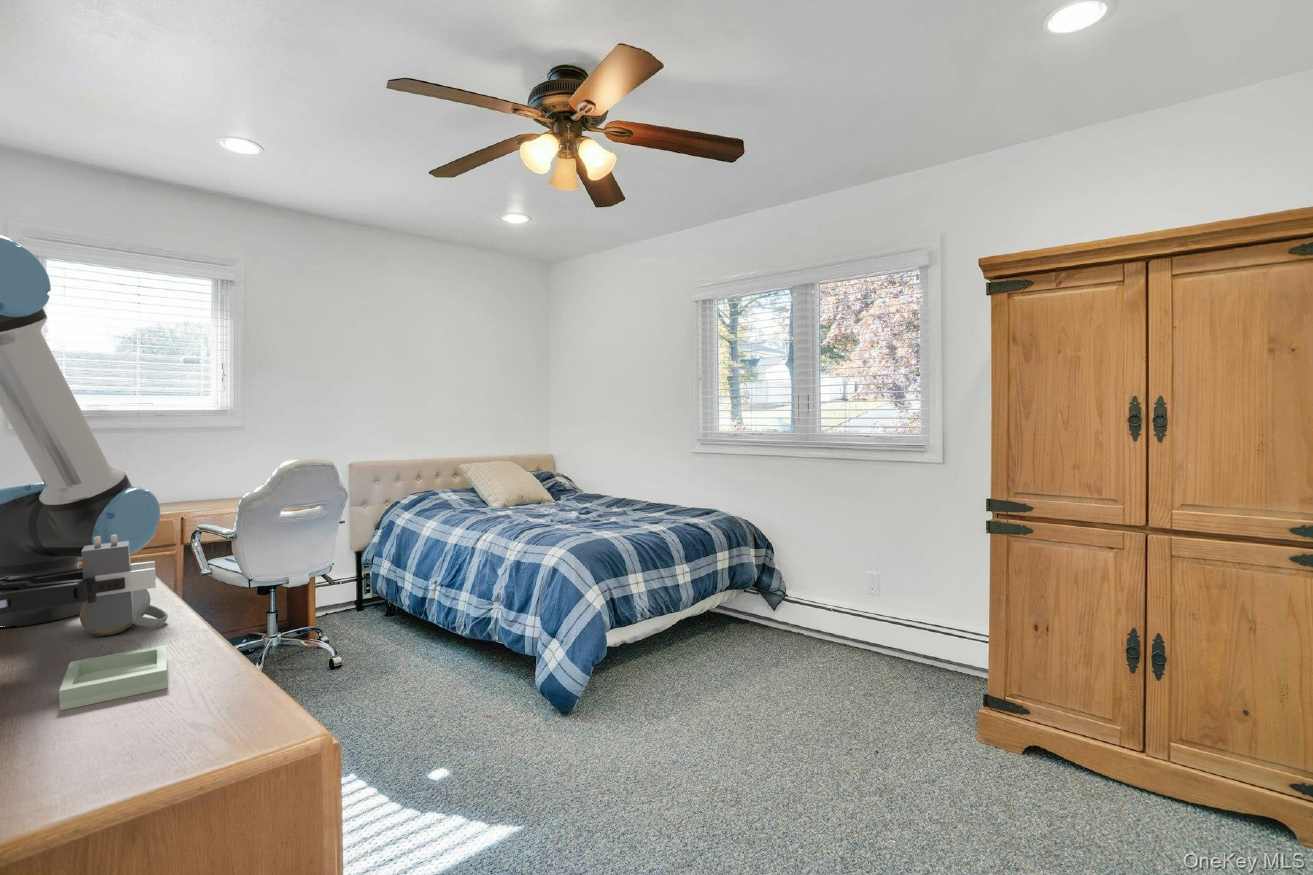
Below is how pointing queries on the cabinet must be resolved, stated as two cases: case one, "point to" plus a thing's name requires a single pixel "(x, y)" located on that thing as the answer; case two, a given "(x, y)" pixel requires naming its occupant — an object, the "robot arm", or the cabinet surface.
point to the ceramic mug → (140, 609)
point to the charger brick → (103, 562)
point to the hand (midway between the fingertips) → (154, 573)
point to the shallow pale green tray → (114, 677)
